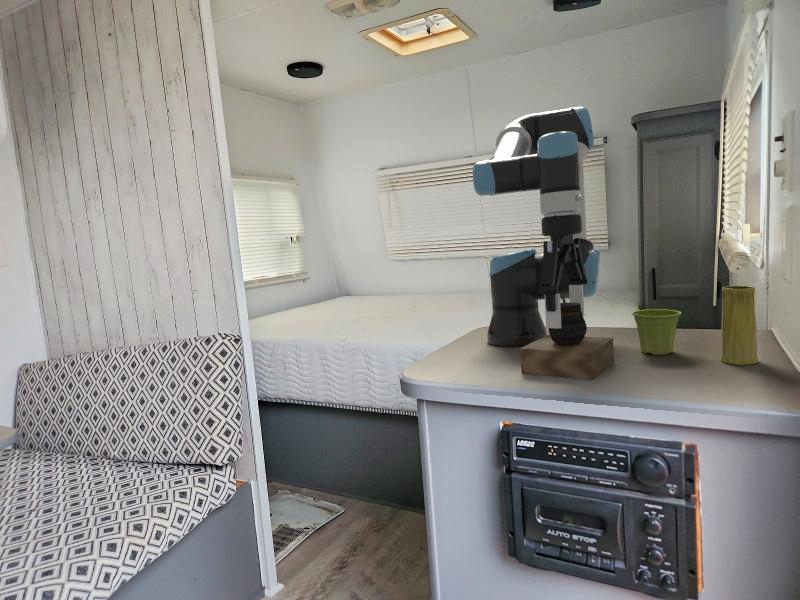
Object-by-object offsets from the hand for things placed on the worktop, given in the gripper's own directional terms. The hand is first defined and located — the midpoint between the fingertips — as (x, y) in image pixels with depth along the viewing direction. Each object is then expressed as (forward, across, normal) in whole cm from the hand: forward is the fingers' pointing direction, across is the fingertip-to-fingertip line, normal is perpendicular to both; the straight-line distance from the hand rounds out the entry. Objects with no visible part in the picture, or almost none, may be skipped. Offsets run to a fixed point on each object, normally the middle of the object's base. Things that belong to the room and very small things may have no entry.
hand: (566, 321), depth 104 cm
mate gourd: (+4, 0, 0) cm, 5 cm away
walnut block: (+9, 0, 0) cm, 9 cm away
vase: (+10, +14, -28) cm, 33 cm away
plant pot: (+10, +18, -13) cm, 24 cm away
